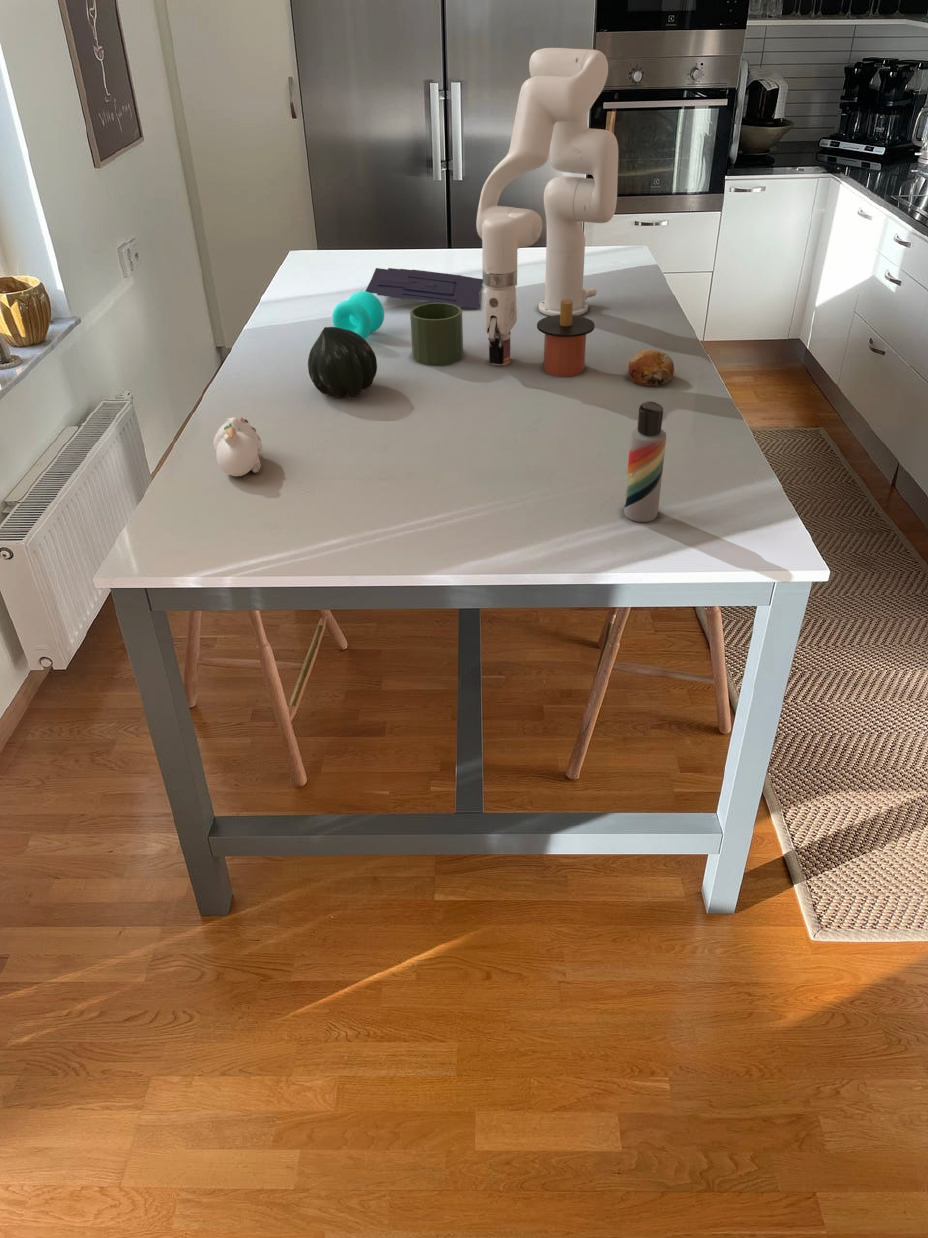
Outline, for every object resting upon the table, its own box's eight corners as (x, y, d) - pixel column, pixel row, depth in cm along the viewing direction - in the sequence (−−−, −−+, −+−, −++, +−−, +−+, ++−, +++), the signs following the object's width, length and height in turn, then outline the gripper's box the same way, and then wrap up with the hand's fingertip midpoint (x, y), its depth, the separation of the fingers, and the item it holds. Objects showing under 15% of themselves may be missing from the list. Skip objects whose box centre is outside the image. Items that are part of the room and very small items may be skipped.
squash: (400, 360, 206) (354, 303, 203) (366, 389, 196) (317, 330, 192) (362, 393, 216) (317, 339, 212) (327, 422, 206) (280, 366, 202)
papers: (376, 275, 268) (377, 262, 265) (482, 288, 268) (484, 275, 266) (363, 304, 248) (363, 290, 246) (477, 318, 248) (479, 304, 246)
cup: (566, 357, 220) (568, 319, 215) (592, 369, 214) (594, 330, 209) (535, 367, 216) (536, 328, 210) (561, 379, 210) (563, 339, 204)
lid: (568, 315, 216) (570, 288, 213) (606, 330, 208) (608, 302, 204) (525, 327, 211) (525, 300, 207) (562, 344, 202) (563, 315, 199)
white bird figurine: (237, 437, 169) (233, 395, 179) (202, 462, 171) (199, 418, 181) (272, 472, 175) (265, 429, 186) (237, 496, 177) (233, 452, 188)
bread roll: (673, 390, 213) (679, 353, 211) (668, 388, 203) (674, 349, 201) (629, 385, 215) (634, 349, 214) (622, 382, 206) (628, 344, 204)
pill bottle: (510, 358, 220) (511, 322, 215) (509, 366, 217) (509, 329, 212) (490, 357, 221) (490, 321, 216) (488, 365, 217) (488, 329, 212)
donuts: (332, 341, 231) (328, 300, 225) (351, 327, 239) (347, 287, 233) (369, 346, 228) (366, 304, 222) (387, 332, 236) (384, 291, 230)
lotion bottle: (620, 506, 165) (629, 398, 153) (653, 504, 166) (664, 396, 154) (627, 523, 161) (638, 413, 149) (661, 521, 161) (674, 411, 149)
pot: (444, 342, 229) (442, 299, 223) (472, 357, 221) (471, 312, 215) (403, 354, 224) (400, 309, 218) (431, 369, 216) (428, 323, 210)
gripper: (506, 291, 200) (505, 374, 211) (526, 267, 213) (525, 346, 224) (471, 288, 202) (473, 371, 213) (494, 264, 215) (494, 343, 226)
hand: (499, 357), depth 218 cm, fingers closed on pill bottle, 4 cm apart
